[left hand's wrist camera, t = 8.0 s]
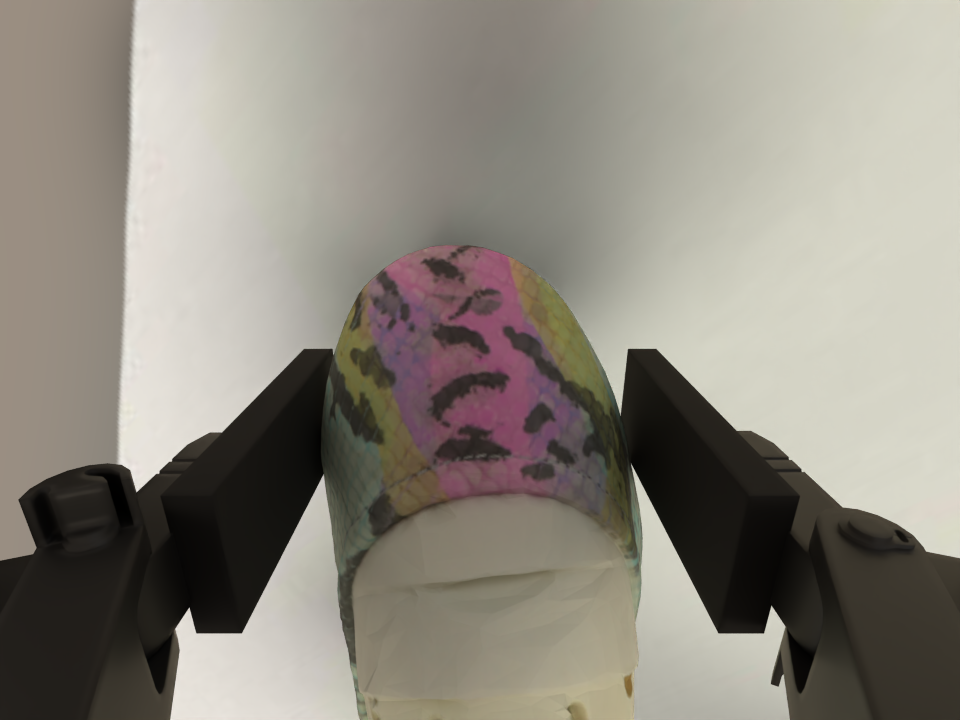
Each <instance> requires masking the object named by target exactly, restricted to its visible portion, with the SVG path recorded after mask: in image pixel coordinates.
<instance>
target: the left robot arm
mask: <svg viewBox="0 0 960 720" xmlns="http://www.w3.org/2000/svg"><path fill="white" fill-rule="evenodd" d="M332 359H333V350H332V349H304V350H303V351H302V352H301V353H300V354H299V355H298V356H297V357H296V358H295V359H294V360H293V361H292V362H291V363H290V364H289V365H288V366H287V367H286V368H285V369H284V370H283V371H282V372H281V373H280V374H279V375H278V376H277V377H276V378H275V379H274V380H273V381H272V382H271V383H270V384H269V385H268V386H267V387H266V388H265V389H264V390H263V391H262V393H261V394H260V395H259V396H258V397H257V398H256V399H255V400H254V401H253V402H252V403H251V404H250V405H249V406H248V407H247V408H246V409H245V410H244V411H243V412H242V413H241V414H240V415H239V416H238V417H237V418H236V419H235V420H234V421H233V422H232V423H231V424H230V425H229V426H228V427H227V428H226V429H225V430H224V431H223V432H222V433H208V434H207V435H205V436H203V437H201V438H199V439H197V440H195V441H194V442H192V443H190V444H188V445H187V446H186V447H185V448H183V449H182V450H181V451H180V452H179V453H178V454H177V455H176V456H175V457H174V458H173V459H172V462H169V463H168V464H166V465H165V466H164V467H163V468H162V469H161V470H160V473H159V474H156V475H155V476H154V477H153V478H152V479H151V480H149V481H148V482H147V483H146V484H145V485H144V486H143V487H142V488H141V489H140V490H139V491H138V492H137V493H136V489H135V486H134V482H133V479H132V475H131V472H130V470H129V469H127V468H126V467H124V466H123V465H116V464H108V463H107V464H98V465H88V466H85V467H81V468H76V469H72V470H69V471H66V472H63V473H61V474H58V475H56V476H53V477H51V478H48V479H46V480H44V481H43V482H41V483H39V484H37V485H36V486H34V487H32V488H30V489H29V490H28V491H27V492H26V493H25V494H24V495H23V496H22V497H21V498H20V499H19V503H20V505H21V508H22V510H23V513H24V516H25V518H26V521H27V523H28V526H29V529H30V531H31V534H32V537H33V539H34V542H35V545H36V547H37V548H36V550H35V552H34V554H32V555H27V556H22V557H17V558H12V559H7V560H2V561H0V720H170V716H171V709H172V702H173V694H174V687H175V680H176V673H177V666H178V658H179V651H180V650H179V643H178V638H177V634H176V631H175V628H176V627H177V625H178V624H179V622H180V621H181V619H182V618H183V616H184V615H185V613H186V612H187V610H188V609H189V607H190V611H191V615H192V618H193V622H194V626H195V630H196V633H242V632H243V630H244V628H245V626H246V624H247V622H248V620H249V618H250V616H251V615H252V613H253V611H254V609H255V607H256V605H257V603H258V601H259V599H260V597H261V595H262V593H263V591H264V589H265V587H266V585H267V583H268V581H269V579H270V578H271V576H272V574H273V572H274V570H275V568H276V566H277V564H278V562H279V560H280V558H281V556H282V554H283V552H284V550H285V548H286V546H287V544H288V542H289V541H290V539H291V537H292V535H293V533H294V531H295V529H296V527H297V525H298V523H299V521H300V519H301V517H302V515H303V513H304V511H305V509H306V507H307V505H308V504H309V502H310V500H311V498H312V496H313V494H314V492H315V490H316V488H317V486H318V484H319V482H320V480H321V478H322V476H323V474H324V472H323V466H322V460H321V427H322V416H323V406H324V399H325V392H326V385H327V380H328V376H329V372H330V368H331V363H332ZM621 419H622V423H623V426H624V431H625V436H626V440H627V445H628V450H629V455H630V461H631V464H632V466H633V468H634V470H635V472H636V474H637V476H638V477H639V479H640V481H641V483H642V485H643V487H644V489H645V491H646V493H647V495H648V497H649V499H650V501H651V503H652V505H653V507H654V509H655V511H656V513H657V514H658V516H659V518H660V520H661V522H662V524H663V526H664V528H665V530H666V532H667V534H668V536H669V538H670V540H671V542H672V544H673V546H674V548H675V550H676V551H677V553H678V555H679V557H680V559H681V561H682V563H683V565H684V567H685V569H686V571H687V573H688V575H689V577H690V579H691V581H692V583H693V585H694V587H695V588H696V590H697V592H698V594H699V596H700V598H701V600H702V602H703V604H704V606H705V608H706V610H707V612H708V614H709V616H710V618H711V620H712V622H713V624H714V625H715V627H716V629H717V631H718V633H764V631H765V628H766V624H767V620H768V616H769V612H770V609H771V605H772V607H773V608H774V610H775V611H776V613H777V614H778V616H779V617H780V619H781V620H782V622H783V623H784V625H785V626H786V627H785V631H784V634H783V638H782V642H781V645H780V649H779V652H778V656H777V659H776V663H775V666H774V670H773V674H772V680H771V684H772V685H775V686H778V687H779V684H780V680H781V677H782V675H783V674H784V678H785V686H786V693H787V700H788V707H789V715H790V720H960V558H955V557H950V556H945V555H940V554H935V553H930V552H926V551H925V549H924V547H923V546H922V545H921V544H920V543H919V542H918V540H917V539H916V538H915V537H914V536H913V535H912V534H910V533H909V532H907V531H906V530H905V529H903V528H902V527H900V526H899V525H897V524H895V523H893V522H891V521H889V520H887V519H884V518H882V517H880V516H878V515H875V514H872V513H868V512H865V511H861V510H858V509H850V508H842V507H841V506H840V505H839V504H838V503H837V502H836V501H835V500H834V499H833V498H832V497H831V496H830V495H829V494H827V493H826V492H825V491H824V490H823V489H822V488H821V487H820V486H819V485H818V484H817V483H816V482H815V481H814V480H812V479H811V478H810V477H809V476H808V475H807V474H806V473H805V472H802V471H801V468H800V467H799V466H797V465H796V464H795V463H794V462H793V461H792V460H789V457H788V456H787V455H786V454H785V453H784V452H782V451H781V450H780V449H779V448H778V447H777V446H776V445H775V444H774V443H772V442H770V441H769V440H767V439H765V438H763V437H761V436H759V435H757V434H756V433H754V432H752V431H736V430H735V429H734V428H733V427H732V426H731V425H730V424H729V423H728V422H727V421H726V420H725V419H724V418H723V417H722V416H721V415H720V413H719V412H718V411H717V410H716V409H715V408H714V407H713V406H712V405H711V404H710V403H709V402H708V401H707V400H706V399H705V398H704V397H703V396H702V395H701V394H700V393H699V392H698V391H697V390H696V389H695V388H694V387H693V386H692V385H691V384H690V383H689V382H688V381H687V380H686V379H685V378H684V377H683V376H682V375H681V374H680V373H679V372H678V371H677V370H676V369H675V368H674V367H673V366H672V365H671V364H670V363H669V362H668V360H667V359H666V358H665V357H664V356H663V355H662V354H661V353H660V352H659V351H658V350H657V349H628V354H627V363H626V372H625V382H624V391H623V400H622V409H621Z"/></svg>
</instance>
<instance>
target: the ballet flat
mask: <svg viewBox="0 0 960 720" xmlns="http://www.w3.org/2000/svg"><path fill="white" fill-rule="evenodd" d="M321 460H322V466H323V472H324V479H325V487H326V494H327V500H328V506H329V512H330V518H331V524H332V535H333V542H334V553H335V562H336V566H337V570H338V600H339V607H340V617H341V620H342V625H343V632H344V635H345V639H346V644H347V647H348V651H349V658H350V666H351V670H352V674H353V680H354V686H355V691H356V699H357V709H358V715H359V718H360V720H634V670H635V668H636V667H637V666H638V658H639V654H638V645H637V636H636V627H635V621H636V616H637V611H638V606H639V601H640V594H641V560H642V525H641V517H640V509H639V503H638V498H637V493H636V487H635V482H634V477H633V472H632V467H631V461H630V455H629V450H628V445H627V440H626V436H625V431H624V426H623V423H622V419H621V416H620V413H619V409H618V406H617V403H616V399H615V396H614V393H613V391H612V388H611V386H610V383H609V381H608V378H607V376H606V373H605V371H604V369H603V367H602V365H601V363H600V361H599V359H598V357H597V356H596V354H595V352H594V350H593V348H592V346H591V344H590V342H589V341H588V339H587V337H586V335H585V334H584V332H583V330H582V329H581V327H580V325H579V323H578V322H577V320H576V318H575V317H574V315H573V313H572V312H571V310H570V309H569V308H568V306H567V305H566V303H565V302H564V301H563V300H562V299H561V297H560V296H559V295H558V294H557V292H556V291H555V290H554V289H553V288H552V287H551V286H550V285H549V284H548V283H547V282H546V281H545V280H543V279H542V278H541V277H540V276H538V275H537V274H536V273H535V272H534V271H532V270H531V269H530V268H528V267H526V266H525V265H523V264H521V263H520V262H518V261H516V260H515V259H513V258H511V257H508V256H506V255H503V254H501V253H498V252H495V251H491V250H488V249H485V248H482V247H475V246H469V245H468V246H456V245H442V246H434V247H429V248H425V249H422V250H419V251H416V252H413V253H410V254H408V255H406V256H404V257H402V258H400V259H398V260H396V261H395V262H393V263H392V264H390V265H389V266H387V267H386V268H384V269H383V270H382V271H381V272H380V273H379V274H378V275H376V276H375V277H374V278H373V279H372V280H371V281H370V282H369V283H368V284H367V285H366V286H365V287H364V288H363V289H362V291H361V292H360V293H359V295H358V297H357V299H356V301H355V303H354V305H353V307H352V309H351V311H350V313H349V315H348V317H347V319H346V322H345V324H344V327H343V330H342V333H341V336H340V339H339V341H338V344H337V347H336V350H335V353H334V356H333V359H332V363H331V368H330V372H329V376H328V380H327V385H326V392H325V399H324V406H323V416H322V427H321Z"/></svg>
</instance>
